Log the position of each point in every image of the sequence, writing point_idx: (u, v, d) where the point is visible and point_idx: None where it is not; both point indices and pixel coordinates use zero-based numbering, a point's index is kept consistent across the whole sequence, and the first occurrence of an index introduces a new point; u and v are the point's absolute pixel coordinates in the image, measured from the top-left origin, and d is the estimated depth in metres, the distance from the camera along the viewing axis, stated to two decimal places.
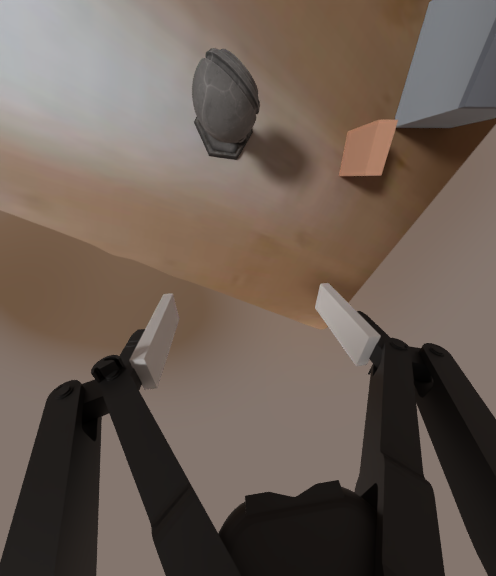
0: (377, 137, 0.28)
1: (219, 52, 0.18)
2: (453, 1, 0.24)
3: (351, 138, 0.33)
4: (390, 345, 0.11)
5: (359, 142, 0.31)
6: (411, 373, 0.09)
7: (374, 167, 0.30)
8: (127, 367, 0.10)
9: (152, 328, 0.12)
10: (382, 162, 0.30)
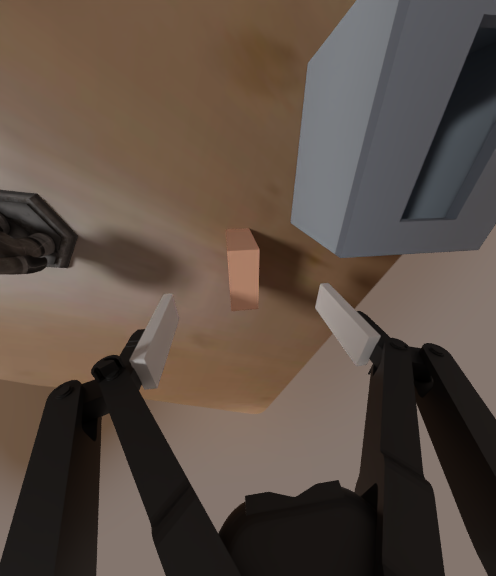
0: (233, 270, 0.18)
1: None
2: (326, 74, 0.14)
3: None
4: (390, 345, 0.11)
5: None
6: (411, 373, 0.09)
7: (243, 301, 0.20)
8: (127, 367, 0.10)
9: (152, 328, 0.12)
10: (253, 296, 0.20)
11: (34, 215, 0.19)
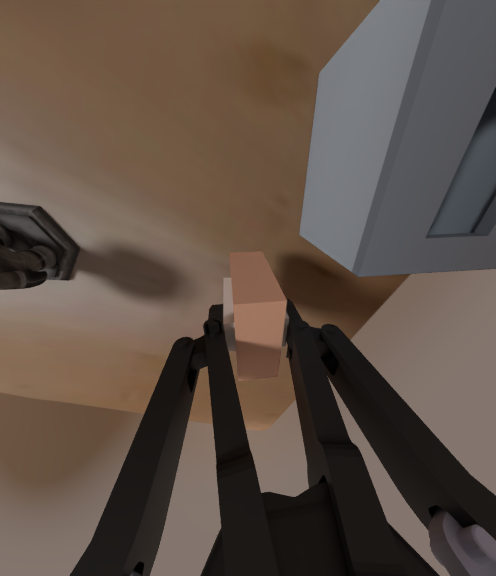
0: (242, 330, 0.11)
1: None
2: (340, 82, 0.13)
3: None
4: (295, 328, 0.12)
5: None
6: (316, 347, 0.11)
7: (256, 369, 0.13)
8: None
9: (229, 302, 0.14)
10: (272, 361, 0.13)
11: (36, 228, 0.19)
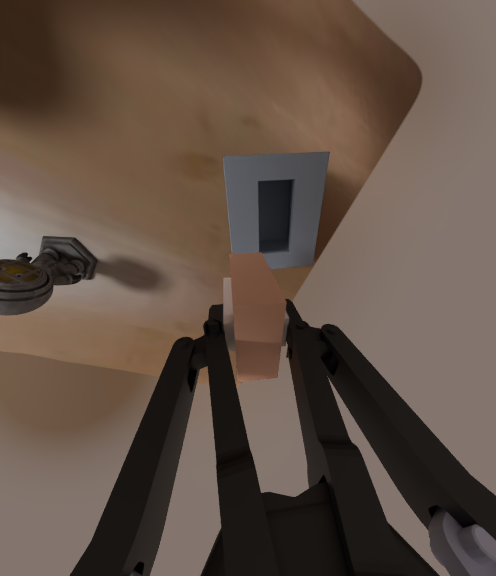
0: (241, 332, 0.11)
1: None
2: None
3: None
4: (295, 328, 0.12)
5: None
6: (315, 347, 0.11)
7: (256, 370, 0.13)
8: None
9: (229, 302, 0.14)
10: (272, 362, 0.13)
11: (73, 250, 0.33)
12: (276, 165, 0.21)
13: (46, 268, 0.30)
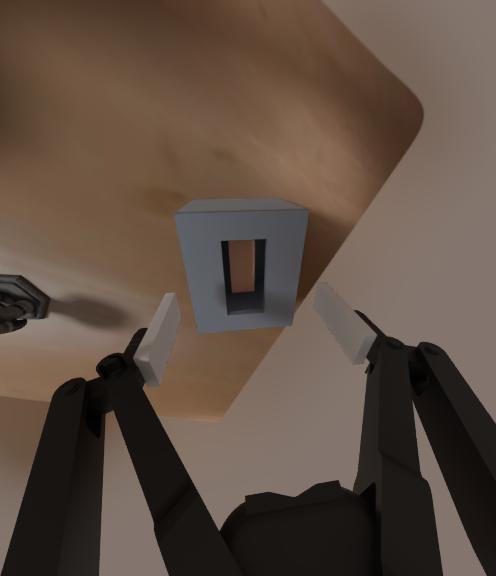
0: (233, 256, 0.22)
1: None
2: None
3: None
4: (386, 344, 0.11)
5: None
6: (407, 371, 0.09)
7: (241, 284, 0.24)
8: (131, 365, 0.10)
9: (155, 326, 0.12)
10: (250, 279, 0.23)
11: (18, 289, 0.29)
12: (242, 224, 0.17)
13: None
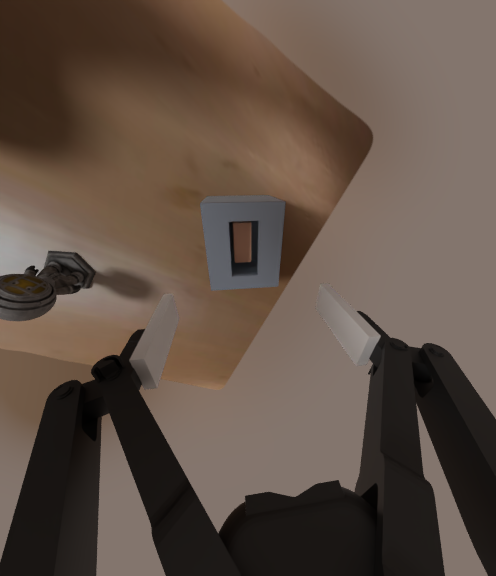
0: (236, 235, 0.31)
1: None
2: None
3: None
4: (390, 345, 0.11)
5: None
6: (411, 373, 0.09)
7: (242, 256, 0.33)
8: (127, 367, 0.10)
9: (152, 328, 0.12)
10: (248, 252, 0.33)
11: (74, 263, 0.38)
12: (243, 210, 0.26)
13: (51, 279, 0.34)
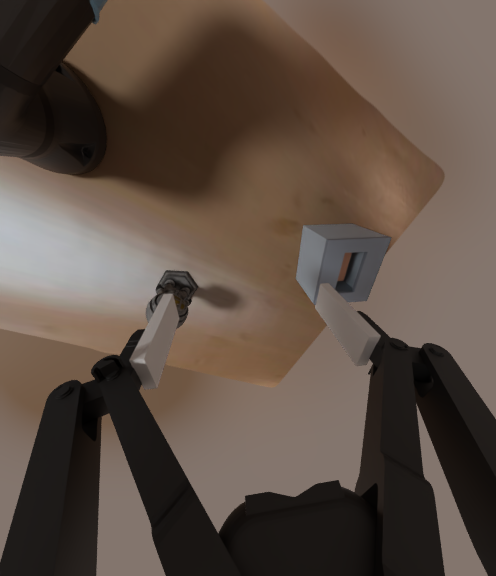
0: None
1: None
2: (309, 239, 0.40)
3: None
4: (390, 345, 0.11)
5: None
6: (411, 373, 0.09)
7: None
8: (127, 367, 0.10)
9: (152, 328, 0.12)
10: (343, 273, 0.40)
11: (186, 280, 0.45)
12: (358, 244, 0.33)
13: (177, 296, 0.41)
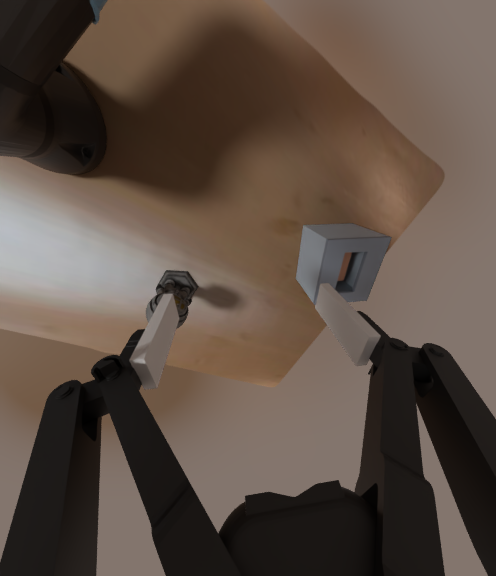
0: None
1: None
2: (309, 239, 0.40)
3: None
4: (390, 345, 0.11)
5: None
6: (411, 373, 0.09)
7: None
8: (127, 367, 0.10)
9: (152, 328, 0.12)
10: (343, 273, 0.40)
11: (186, 280, 0.45)
12: (358, 244, 0.33)
13: (177, 295, 0.42)
